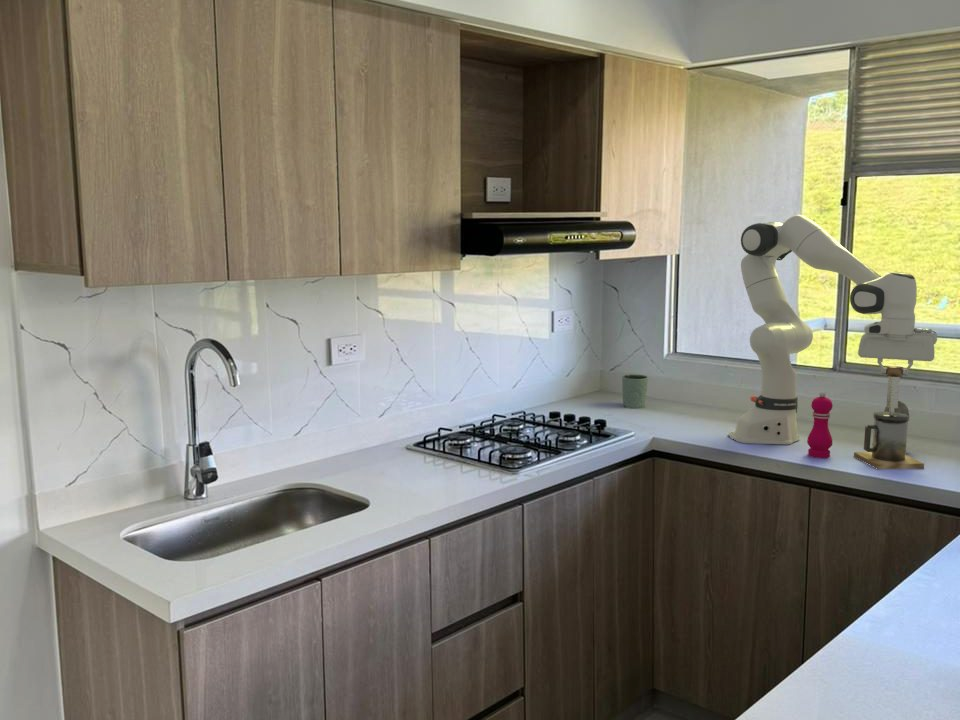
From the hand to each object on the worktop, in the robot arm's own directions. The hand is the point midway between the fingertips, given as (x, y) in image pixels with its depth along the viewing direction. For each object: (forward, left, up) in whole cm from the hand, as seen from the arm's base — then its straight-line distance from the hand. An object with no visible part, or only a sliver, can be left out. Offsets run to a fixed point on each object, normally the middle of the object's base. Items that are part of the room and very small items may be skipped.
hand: (894, 374), depth 253 cm
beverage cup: (+10, +15, -27) cm, 32 cm away
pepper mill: (-17, +9, -27) cm, 33 cm away
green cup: (-56, +87, -27) cm, 107 cm away
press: (-1, 0, -25) cm, 25 cm away
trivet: (0, 0, -27) cm, 27 cm away
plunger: (0, 0, -10) cm, 10 cm away
